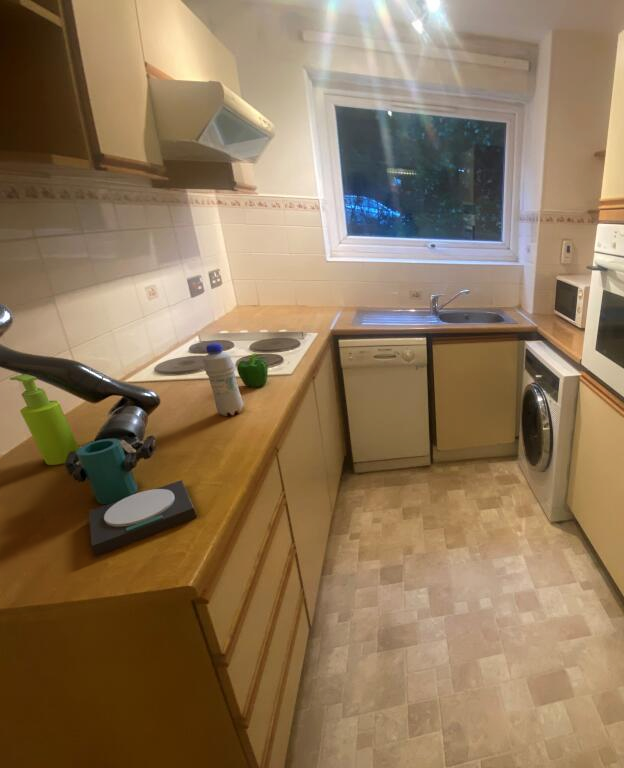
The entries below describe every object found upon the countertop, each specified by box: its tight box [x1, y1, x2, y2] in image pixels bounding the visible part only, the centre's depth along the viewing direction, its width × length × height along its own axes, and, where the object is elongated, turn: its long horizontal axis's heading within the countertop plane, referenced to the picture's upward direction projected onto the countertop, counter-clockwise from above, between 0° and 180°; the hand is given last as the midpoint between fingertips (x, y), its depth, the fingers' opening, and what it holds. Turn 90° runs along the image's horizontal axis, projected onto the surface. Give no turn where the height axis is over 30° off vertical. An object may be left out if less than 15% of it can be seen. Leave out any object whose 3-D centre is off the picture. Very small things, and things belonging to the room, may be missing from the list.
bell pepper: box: [237, 352, 269, 388], centre depth 137 cm, size 8×8×10 cm
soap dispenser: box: [9, 374, 80, 466], centre depth 95 cm, size 6×7×20 cm
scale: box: [88, 479, 198, 557], centre depth 79 cm, size 14×12×3 cm
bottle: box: [203, 342, 244, 417], centre depth 117 cm, size 7×7×20 cm
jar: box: [76, 439, 139, 505], centre depth 84 cm, size 6×6×11 cm
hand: (103, 472), depth 82 cm, fingers closed on jar, 6 cm apart
